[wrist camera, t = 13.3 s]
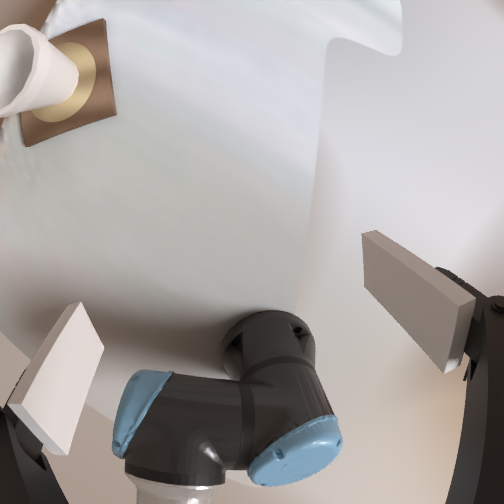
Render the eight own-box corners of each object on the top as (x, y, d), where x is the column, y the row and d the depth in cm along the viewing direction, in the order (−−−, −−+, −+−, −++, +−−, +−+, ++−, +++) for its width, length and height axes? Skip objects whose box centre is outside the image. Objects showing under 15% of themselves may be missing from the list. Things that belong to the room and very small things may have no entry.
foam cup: (22, 112, 29) (-39, 114, 17) (41, 47, 26) (-14, 27, 14) (78, 120, 31) (23, 121, 19) (99, 51, 28) (54, 22, 16)
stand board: (116, 114, 33) (113, 114, 32) (29, 146, 32) (24, 147, 31) (105, 20, 28) (102, 17, 26) (20, 58, 27) (15, 56, 25)
